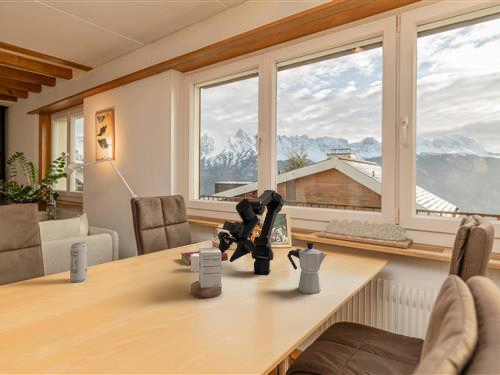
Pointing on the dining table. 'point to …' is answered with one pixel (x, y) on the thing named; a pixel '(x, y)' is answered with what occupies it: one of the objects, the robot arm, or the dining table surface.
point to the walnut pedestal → (204, 291)
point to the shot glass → (194, 262)
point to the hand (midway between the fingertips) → (223, 258)
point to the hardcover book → (187, 255)
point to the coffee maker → (308, 268)
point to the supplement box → (209, 267)
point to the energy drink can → (78, 262)
